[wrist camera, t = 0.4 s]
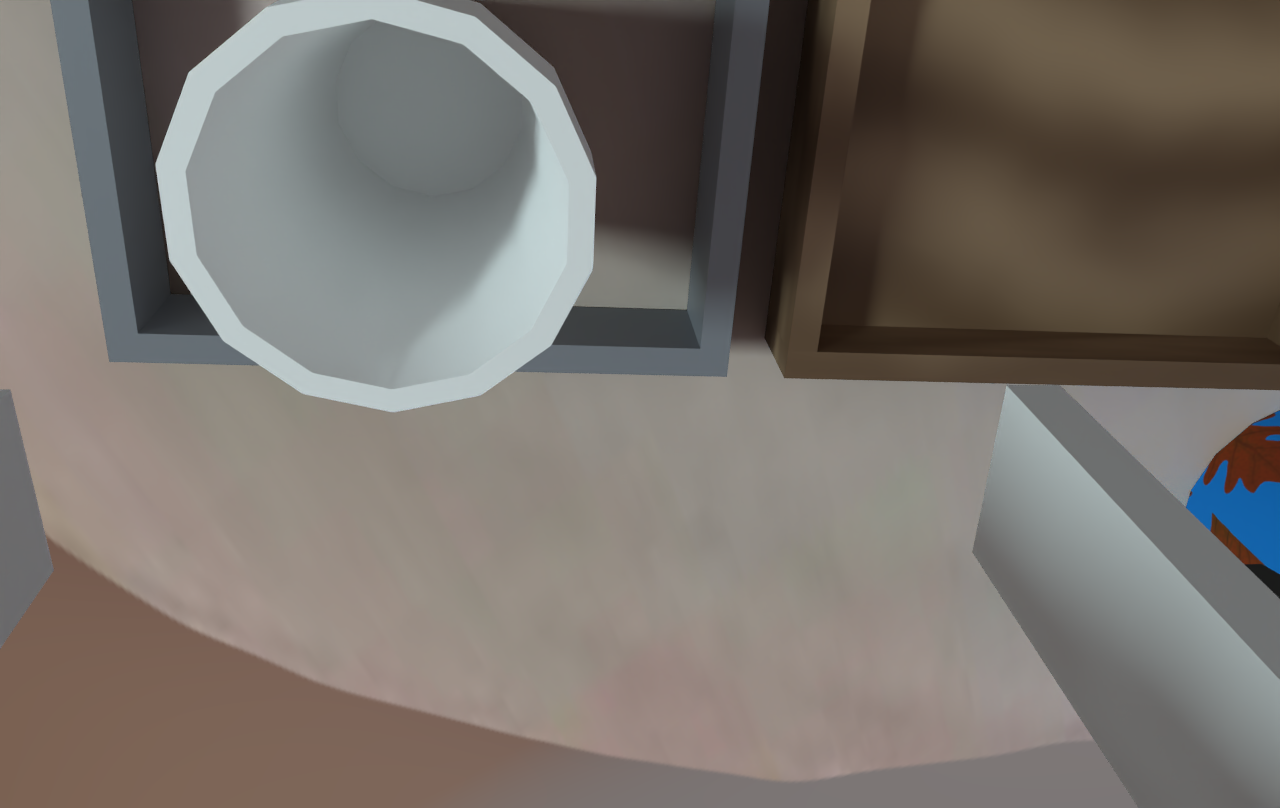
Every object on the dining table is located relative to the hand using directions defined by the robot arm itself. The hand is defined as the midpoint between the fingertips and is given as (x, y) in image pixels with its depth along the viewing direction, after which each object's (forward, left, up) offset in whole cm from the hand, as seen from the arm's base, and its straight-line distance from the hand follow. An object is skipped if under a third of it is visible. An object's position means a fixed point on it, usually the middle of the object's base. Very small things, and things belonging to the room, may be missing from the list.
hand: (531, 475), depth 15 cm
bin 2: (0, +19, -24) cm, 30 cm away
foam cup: (0, -3, -24) cm, 24 cm away
